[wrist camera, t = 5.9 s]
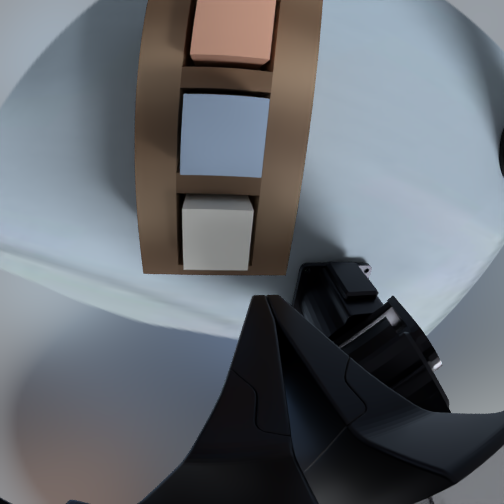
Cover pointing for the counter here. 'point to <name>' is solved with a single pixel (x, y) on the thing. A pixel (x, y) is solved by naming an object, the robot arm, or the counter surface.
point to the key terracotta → (232, 33)
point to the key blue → (223, 135)
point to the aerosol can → (502, 153)
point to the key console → (222, 83)
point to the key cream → (216, 231)
